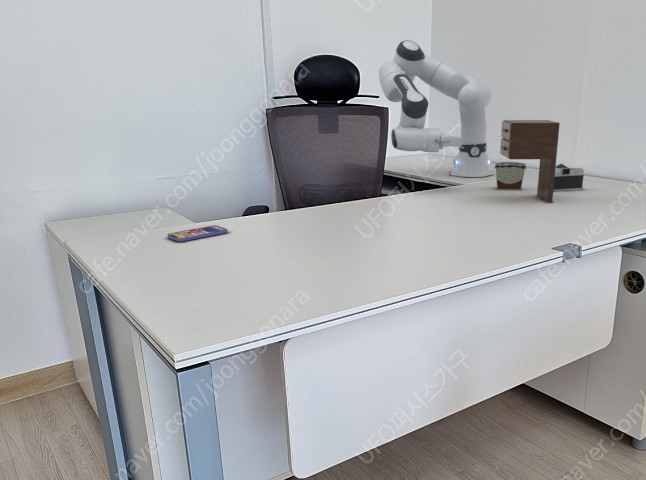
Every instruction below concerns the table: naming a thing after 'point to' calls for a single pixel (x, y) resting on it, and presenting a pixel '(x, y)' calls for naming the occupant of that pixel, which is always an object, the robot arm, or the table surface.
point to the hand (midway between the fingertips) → (469, 142)
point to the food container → (509, 175)
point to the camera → (568, 178)
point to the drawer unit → (533, 148)
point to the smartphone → (197, 233)
